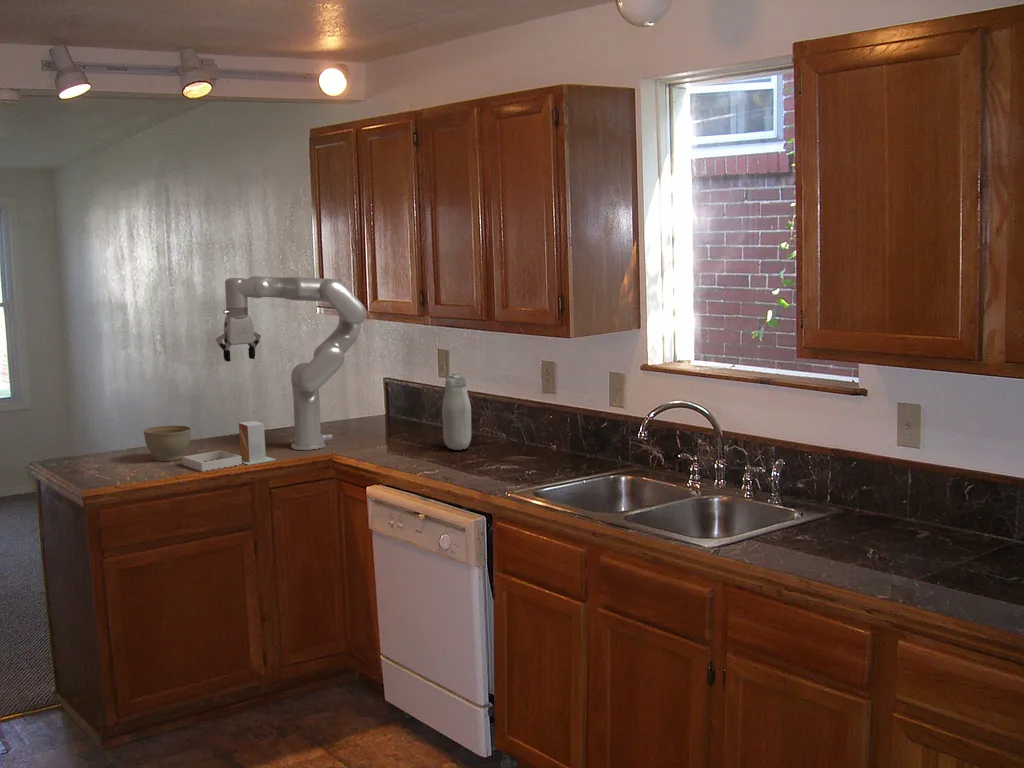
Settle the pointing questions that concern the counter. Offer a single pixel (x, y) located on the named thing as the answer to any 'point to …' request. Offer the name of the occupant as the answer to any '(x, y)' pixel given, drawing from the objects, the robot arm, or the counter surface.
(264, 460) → the pad
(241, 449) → the small box
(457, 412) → the glass bottle
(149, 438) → the planter bowl
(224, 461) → the bin
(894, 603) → the counter surface
